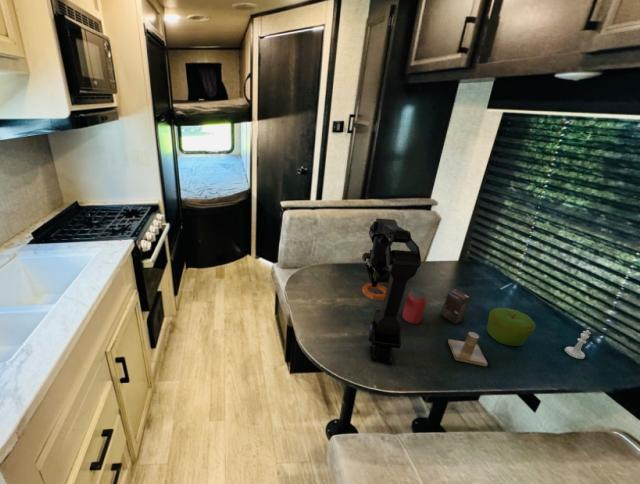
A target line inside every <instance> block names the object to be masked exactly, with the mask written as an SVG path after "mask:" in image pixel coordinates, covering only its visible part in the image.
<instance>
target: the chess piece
mask: <svg viewBox="0 0 640 484" xmlns="http://www.w3.org/2000/svg"><path fill="white" fill-rule="evenodd" d="M591 334H592V333H591V332H590V330H588V329H586V330H582V332H581V333H580V338H579V337H578V338H577V339H576V340H577V341H578V342H577V343H576V344H575V345H574V346H566V347H565V348H564V351H565V353H566V354H568V355H569V356H570V357H573V358H575V359H577V360H579V359H580V360H583V359H585V357H586V354H585V353H584V351H582V347H583V345H584V344H587V340H588V339H590V335H591Z"/></svg>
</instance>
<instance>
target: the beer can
mask: <svg viewBox="0 0 640 484" xmlns="http://www.w3.org/2000/svg"><path fill="white" fill-rule="evenodd" d="M427 300H428V299H427V294H426V293H425V292H424V291H422V290H418V289H411V290H410V291H409V292H408V294H407V296H406V299H405V303H404V307H403V311H402V314H401V316H402V319H403V320H404V321H406V322H408V323H410V324H419V323H421V321H422V318H423V315H424V312H425V308H426V305H427Z"/></svg>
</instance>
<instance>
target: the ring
mask: <svg viewBox="0 0 640 484" xmlns="http://www.w3.org/2000/svg"><path fill="white" fill-rule="evenodd" d="M370 289H373V290H378V291H380V292H382V293H375V292H372V291H370ZM361 291H362V293H363V294H364V296H366V298H367V297H368V298H369V299H371V300H375V301H384V299H385V295H386V291H387V286H384V285H383V284H381V283H378V284H377V285H376V287H372V283H371V282H368V283H366V284H364V285H362V290H361Z"/></svg>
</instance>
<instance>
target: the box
mask: <svg viewBox="0 0 640 484" xmlns="http://www.w3.org/2000/svg"><path fill="white" fill-rule="evenodd" d="M470 300H471V296H470V295H469V294H468V293H466V292H464V291H462V290H460V289H458V288H456V287H455V288H453V289H450V290H448V292H447V295H446V298H445V301H444V305H443V306H442V311H441V313H440V315H441V316H442V317H443V318H445V319H447V320H448V321H450V322H451V323H452V324H454V325H455V324H458V323H461V322H462V321H463V318H464V316H465V313H466V311H467V308H468V305H469V303H470Z"/></svg>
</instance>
